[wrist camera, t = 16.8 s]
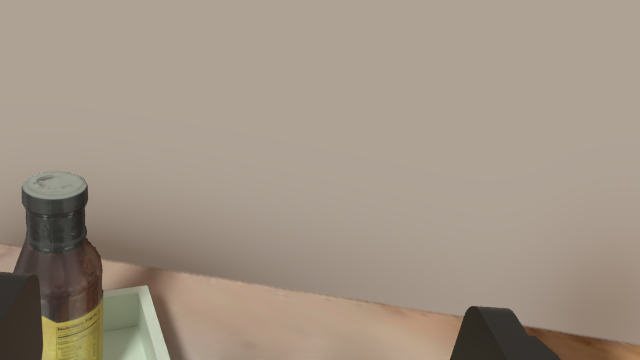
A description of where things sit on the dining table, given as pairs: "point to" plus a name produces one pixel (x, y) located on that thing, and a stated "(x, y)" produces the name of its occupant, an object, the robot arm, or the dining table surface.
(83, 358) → the sauce bottle
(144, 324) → the sage bin
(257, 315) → the dining table surface
